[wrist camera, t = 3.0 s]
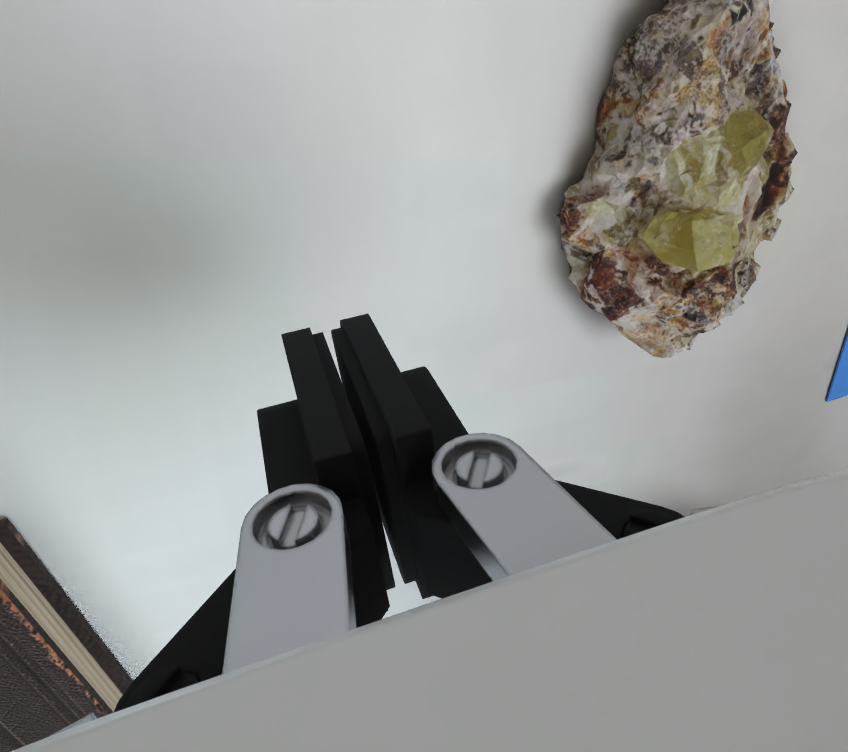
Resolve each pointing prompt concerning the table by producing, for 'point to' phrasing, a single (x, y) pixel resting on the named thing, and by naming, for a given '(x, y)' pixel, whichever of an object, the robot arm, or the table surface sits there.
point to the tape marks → (840, 375)
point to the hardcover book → (46, 653)
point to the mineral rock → (682, 173)
